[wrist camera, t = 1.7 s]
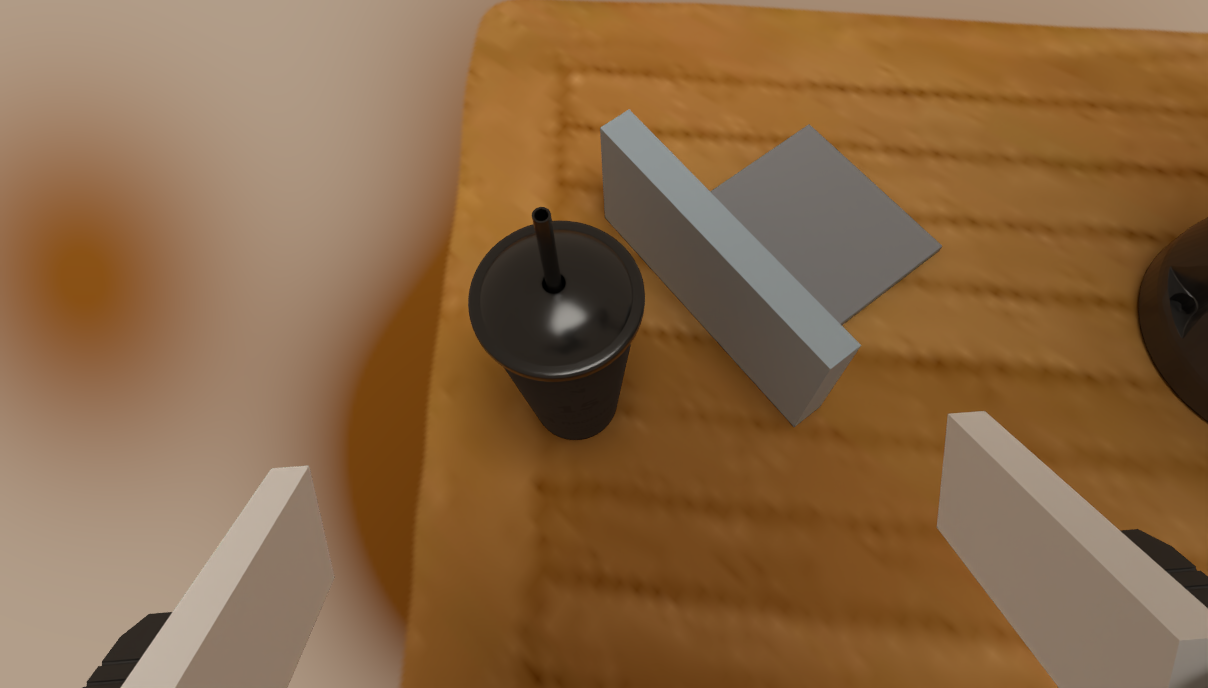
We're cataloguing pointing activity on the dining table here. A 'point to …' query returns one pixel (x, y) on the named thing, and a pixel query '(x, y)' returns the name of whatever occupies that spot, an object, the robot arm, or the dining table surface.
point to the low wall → (721, 272)
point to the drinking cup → (560, 319)
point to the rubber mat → (826, 223)
